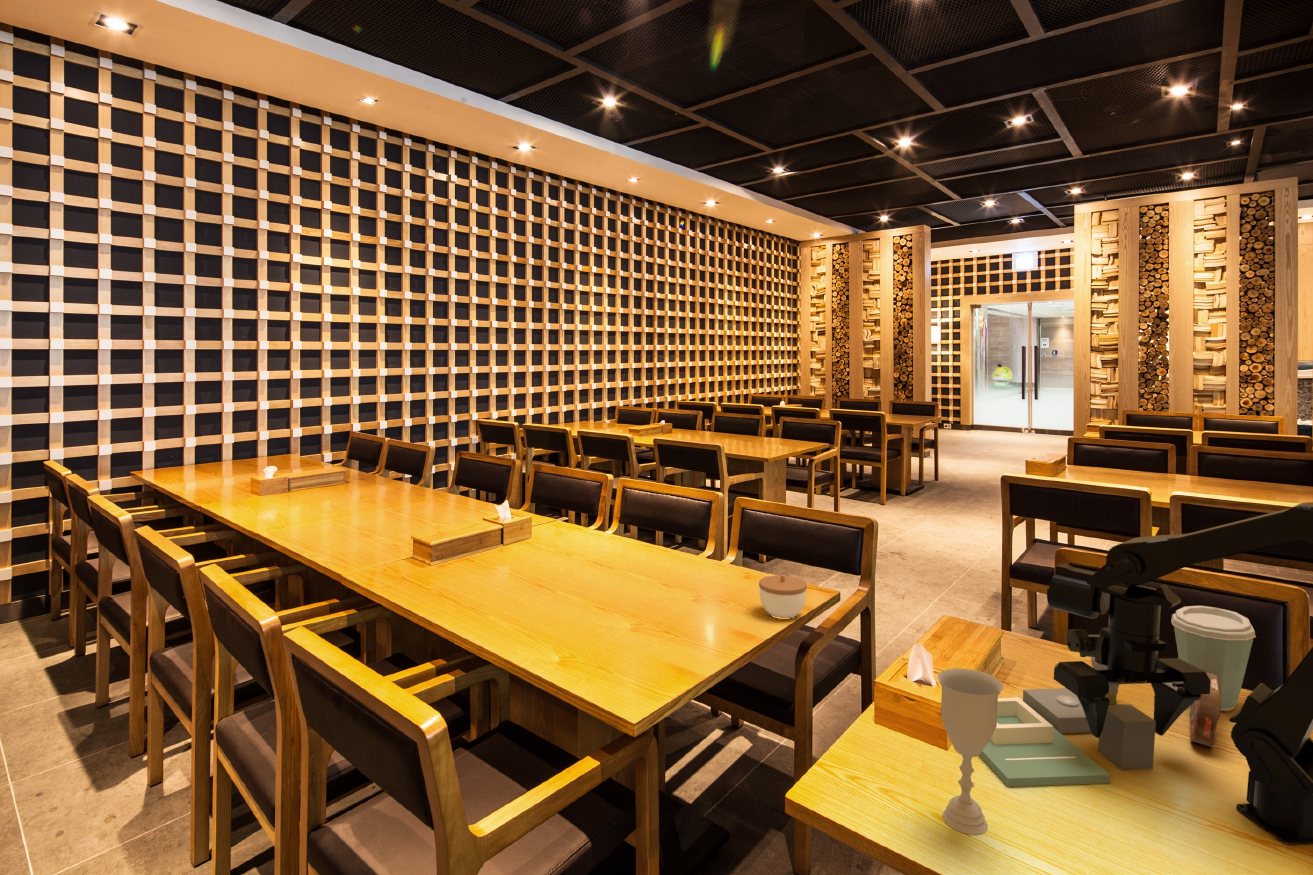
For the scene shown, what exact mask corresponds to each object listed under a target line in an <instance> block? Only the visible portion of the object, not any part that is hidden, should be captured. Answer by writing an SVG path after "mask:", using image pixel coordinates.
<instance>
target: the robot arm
mask: <svg viewBox="0 0 1313 875" xmlns="http://www.w3.org/2000/svg"><path fill="white" fill-rule="evenodd" d="M1301 541H1302V542H1303V541H1305V542H1308V543H1310V544H1312V545H1313V501H1306V502H1302V503H1299V504H1296V505H1294V506H1292V507H1290V508H1286V509H1282V510H1277V511H1274V512H1270V513H1267V514H1261V515H1257V516H1254V517H1249V518H1246V519H1241V520H1238V521H1234V522H1230V523H1226V524H1222V525H1218V526H1214V527H1209V528H1206V529H1205V528H1204V529H1201V530H1198V531H1194V532H1189V533H1179V534H1159V535H1148V536H1138V537H1134V538H1131V539H1129V540H1126V541H1124V542H1122V543H1121V542H1120V543H1117V544H1116V545H1114V546H1111V548H1109V549H1108V552H1107V554H1106V557H1105V564H1104V565H1102V566H1101V567H1100V568H1099V569H1098V570H1096V571H1091V570H1087V569H1082V568H1078V567H1075V566H1073V565H1068V564H1064V563H1061V564H1059V565H1057V566H1055V570H1054V571H1055V573H1054V574H1053V576H1052V578H1051V580H1050V583H1049V586H1048V588H1047V589H1046V599H1047V600H1046V601H1047V604H1048V606H1049V607H1050V608H1051V609H1053V610H1054V609H1055V610H1058V611H1062V612H1066V613H1070V614H1074V615H1077V616H1081V617H1085V618H1089V619H1093V620H1096V619H1097V618H1098V617H1099V616H1100V614H1101V615H1106V614H1107V612H1108V625H1107V627H1101V629H1100V631H1099V634H1088V632H1087V630H1086V629H1067V636H1066V644H1067V645H1066V646H1067V648H1068V650H1069V651H1070V652H1073V653H1079V657H1080V658H1086V657H1088V658H1091V657H1095V662H1097V663H1098V664H1100V665H1105V666H1106V669H1107V670H1096V669H1094V668H1093V666H1092V665H1090V664H1087V663H1086V662H1085V661H1083V660H1079V661H1076V660H1075V661H1073V660H1072V661H1059V662H1058V663H1057V664H1055V665H1054V668H1053V680H1055V682H1057V683H1059V684H1060V685H1061V686H1063V687H1064V688H1067V689H1068V690H1070V691H1071V692H1072V693H1074V694H1075V695H1077V697H1078V699H1079V701H1080V703H1081V705H1082V708H1083V710H1084V713H1085V716H1086V719H1087V722H1088V725H1089V727H1090V730H1091V735H1092V736H1094V737H1095V738H1097V739H1099V738H1100V735H1101V733H1102V731H1103V727H1104V723H1105V719H1106V714H1107V711H1108V707H1109V702H1110V700H1109V699H1108V698H1106V697H1105V695H1106V694H1107V693H1108V692H1109V685H1113V684H1120V685H1134V684H1135V685H1136V684H1137V685H1138V684H1150V686H1151V687H1152V689H1153V692H1154V699H1153V700H1154V701H1153V702H1154V703H1153V706H1154V707H1153V720H1155V721H1156V728H1155V734H1156V735H1158V736H1164V735H1165V734H1166V732H1168V730H1169V729H1170V727H1172V726H1173V725H1174V723H1175V722H1176V721H1177V720H1178V719H1179V717H1180V716H1182V715H1183V713H1184V712H1185V711H1186V710H1187V709H1189V707H1191V704H1192V703H1193V702H1194V701H1195V700H1200V699H1201V695H1200V694H1210V687H1211V680H1210V678H1209V677H1208V675H1207V673H1206V672H1205V671H1203V670H1201V669H1199V668H1197V667H1195V666H1193V665H1191V664H1189V663H1187V662H1185V661H1183V660H1181V659H1179V657H1173V658H1172V657H1171V658H1159V652H1160V651H1161V652H1162V651H1163V652H1164V651H1166V650H1167V643H1166V642H1165V641H1163V640H1160V625H1161V623H1160V622H1161V608H1163V607H1164V608H1167V609H1172V608H1174V607H1175V606H1176V605H1179V604H1180V603H1181V601H1182V599H1181V598H1180V596H1178V595H1177V594H1176V593H1174V592H1173V591H1172V590H1171V589H1170V588H1169V586H1168V585H1167V584H1162V585H1160V586H1159V587H1157V588H1154V587H1148V586H1145V585H1144V584H1147V583H1150V582H1152V581H1155V580H1157V579H1160V578H1162V577H1164V576H1167V575H1169V574H1172V573H1174V572H1176V571H1179V570H1182V569H1184V568H1186V567H1188V566H1191V565H1195V564H1199V563H1203V562H1208V561H1213V560H1219V559H1222V558H1227V557H1231V556H1236V555H1240V554H1245V553H1249V552H1254V551H1259V550H1263V549H1268V548H1273V547H1277V546H1282V545H1286V544H1291V543H1297V542H1301ZM1121 583H1123V584H1125V585H1127V586H1128V587H1124V586H1120V585H1117V584H1121ZM1143 585H1144V586H1143ZM1228 722H1230V723H1234V725H1233V726H1232V728H1231V731H1230V738H1231V740H1232V742H1233V744H1234V746H1235V748H1236V749H1237V751H1238V752H1239V753H1240V754H1241V755H1242V756H1243V757H1245V759H1246V763H1247V764H1248V768H1249V771H1248V777H1247V788H1246V801H1247V803H1236V807H1235V809H1236V810H1237V811H1239V812H1240V813H1242V814H1243V815H1245V817H1247V818H1248V819H1250V820H1251V821H1253V822H1254V823H1256V824H1257V825H1258V826H1259V827H1261V828H1262V829H1264V830H1266V831H1267V832H1268V833H1269V834H1272V836H1274V837H1275V838H1277V840H1279V841H1281V842H1283V843H1284V844H1287V845H1297V844H1298V845H1300V844H1301V845H1302V844H1313V739H1312V738H1311V737H1310V736H1311V734H1312V731H1313V646H1312V647H1311V648H1310V650H1309V651H1308V652H1307V653H1306V655H1304V657H1303V658H1302V660H1301V661H1299V664H1298V665H1297V666H1296V668H1295V669H1294V670H1293V672H1291V674H1290V675H1289V676H1288V677H1287V679H1286V680H1285V682H1284V683H1283V684H1281V685H1280V686H1279V687H1277V688H1275V689H1274V690H1272V688H1270V687H1269V686H1267V685H1266V684H1265V683H1263V682H1261V683H1259V685H1257V687H1255V688H1254V689H1253V690H1252V691H1251V692H1250V693H1249V694H1248V695H1247V697H1246V698H1245V700H1244V703H1243V704H1242V705H1241V707H1240V708H1239V709H1238V710H1237V711H1235V712H1234V714H1233V715H1232V716H1231V717H1230V718H1229V719H1228Z"/></svg>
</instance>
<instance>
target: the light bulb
mask: <svg viewBox="0 0 1313 875" xmlns="http://www.w3.org/2000/svg"><path fill="white" fill-rule="evenodd" d="M1090 661H1091V667H1093V668H1094V669H1096V670H1107V669H1106V666H1105V665H1100V664H1098V663H1097V662H1095V657H1090ZM1120 685H1121V684H1113V685H1109V692H1108V693H1107V694H1106V695H1105V697H1106V698H1108V699H1109V700H1110V702H1109V705H1117V702H1118V701H1117V700H1118V699H1117V697H1118V693H1119V687H1120Z"/></svg>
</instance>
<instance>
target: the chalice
mask: <svg viewBox="0 0 1313 875" xmlns="http://www.w3.org/2000/svg"><path fill="white" fill-rule="evenodd" d="M937 679H938V681H939V684H940V685H941V697H940V698H941V702H940V703H941V713H940V717H941V720H942V724H943V726H944V729H945V732H946V734H947V736H948V738H949V741H950V742H951V745H952V746H953V749H954V750H955V752H956V753H957V754H959V755H961V756H962V760H961V761H962V762H961V765H959V767H958V768H959V770H960V771H961V772H960V773H961V775H962V776H961V778H960V779H958V781H957V783H958V784H959V786H960V788H961V793H960V795H955V796H953V797H952V798H951V799H950V800H949V801H948V804H947V805H946V806H945V810H943V812H942V819H943V821H944V822H945V823H946V825H948V827H950V828H952V829H953V830H954V831H956V832H959V833H962V834H965V835H971V836H977V835H982V834H985V833H986V832H987V831H988V829H989V827H988V823H987V821H986V819H985V815H984V813H983V810H982V808H981V806H980V805H979V804H978V802H977V801H976V800H975V799H973V798H972V797H971V790H972V788H974V787H975V784H974V782H973V781H972V774H973V773H974V772H975V769H974V768H973V765H972V760H973V758H976V757H980V756H979V755H980V754H981V752H982V751H983V749H984V748H985V746H986V745H987V744H988V742H989V741H990V739H991V737H992V735H993V733H994V731H995V729H996V727H997V704H998V698H999V695H1000V694H1001V693H1002V691H1003V689H1004V684H1003V682H1001V680H1000V679H998V678H997V677H995V676H993V675H992V674H988V673H986V672H983V671H979V670H976V669H971V668H970V669H969V668H957V667H956V668H947V669H945V670H941V671H940V672H939V673H937Z"/></svg>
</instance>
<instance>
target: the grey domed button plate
mask: <svg viewBox="0 0 1313 875" xmlns="http://www.w3.org/2000/svg"><path fill="white" fill-rule="evenodd" d="M1022 701H1023V702H1025V703H1026V704H1027V705H1028V706H1029V707H1031V708H1032V709H1033V710H1034V711H1035V712H1037V713H1038V714H1039V715H1040V716H1041V717H1043V718H1044V719H1045V720H1046V721H1047V722H1049V723H1050V724H1051V725H1052V726H1053V728H1055V729H1056V730H1057V731H1058V732H1059V733H1061V734H1062V735H1063V734H1083V733H1084V734H1085V733H1086V734H1087V733H1091V730H1090V727H1089V725H1088V722H1087V719H1086V716H1085V713H1084V710H1083V708H1082V705H1081V703H1080V701H1079V699H1078V697H1077V695H1075V694H1074V693H1072V692H1071V691H1070V690H1068V689H1067V688H1065V687H1064V688H1061V687H1059V688H1031V689H1030V688H1028V689H1027V688H1026V689H1023V692H1022ZM1091 734H1092V733H1091Z"/></svg>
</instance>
